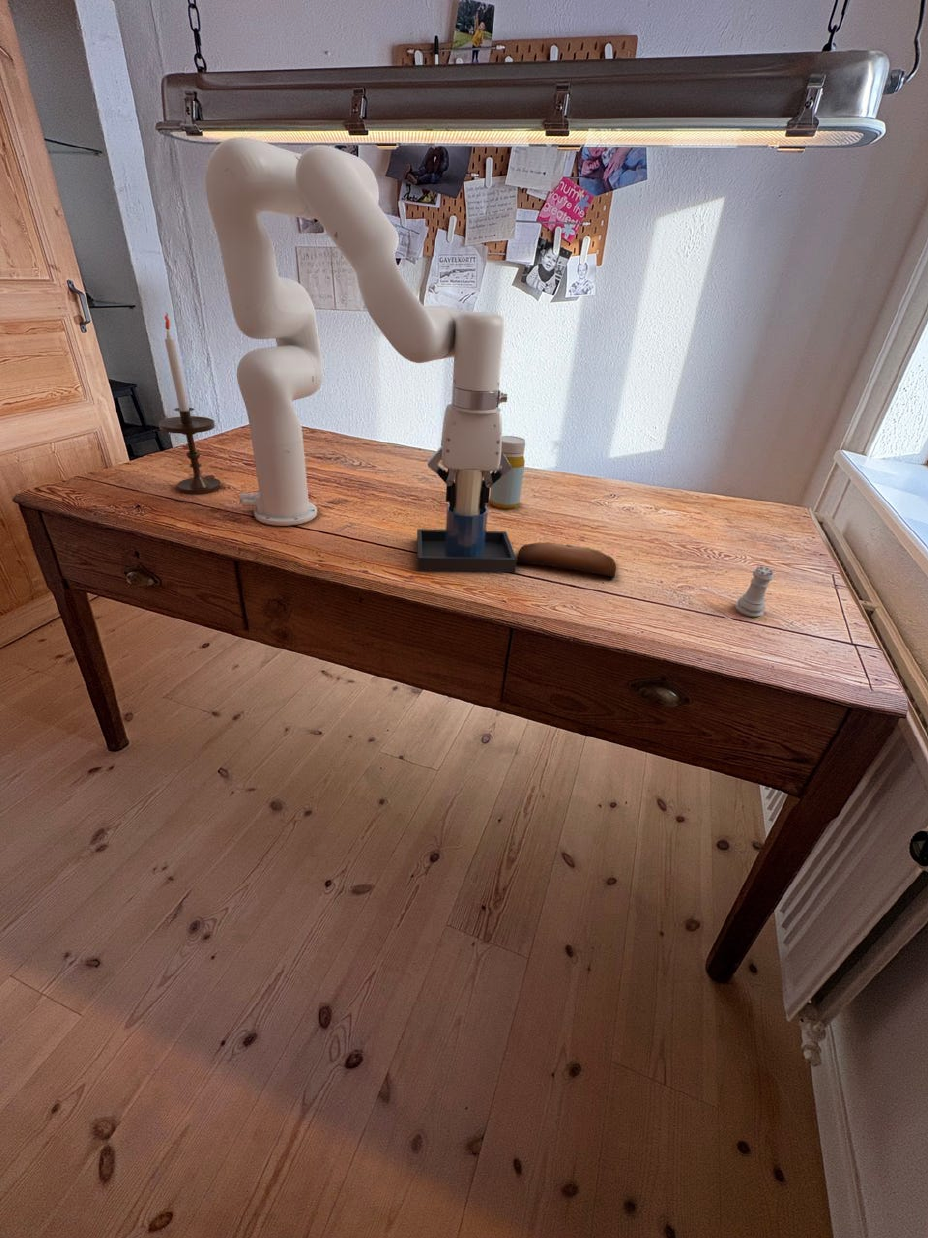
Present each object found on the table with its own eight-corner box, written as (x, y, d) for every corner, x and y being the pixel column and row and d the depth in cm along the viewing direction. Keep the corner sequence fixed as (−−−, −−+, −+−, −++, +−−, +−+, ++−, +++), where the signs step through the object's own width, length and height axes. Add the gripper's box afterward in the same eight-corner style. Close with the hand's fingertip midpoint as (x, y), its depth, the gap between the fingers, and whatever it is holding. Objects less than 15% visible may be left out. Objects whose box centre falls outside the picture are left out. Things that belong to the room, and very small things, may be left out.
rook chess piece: (738, 616, 91) (755, 573, 87) (731, 603, 95) (747, 561, 90) (766, 620, 91) (784, 577, 86) (758, 606, 94) (775, 565, 90)
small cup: (453, 527, 98) (457, 469, 92) (451, 517, 102) (454, 461, 96) (479, 528, 98) (485, 471, 93) (477, 518, 102) (481, 462, 97)
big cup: (445, 561, 100) (448, 515, 95) (443, 544, 106) (445, 500, 101) (485, 562, 100) (490, 516, 96) (481, 545, 107) (485, 501, 102)
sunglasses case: (614, 559, 105) (620, 539, 99) (610, 590, 102) (616, 571, 96) (522, 545, 108) (523, 524, 102) (515, 575, 105) (516, 555, 99)
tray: (418, 571, 97) (418, 557, 96) (417, 541, 108) (417, 529, 106) (515, 572, 99) (516, 559, 98) (504, 543, 110) (506, 531, 108)
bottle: (517, 511, 125) (525, 445, 117) (487, 507, 126) (493, 441, 118) (520, 501, 131) (528, 437, 123) (492, 497, 132) (498, 433, 124)
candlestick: (195, 476, 130) (160, 309, 112) (235, 483, 128) (207, 313, 109) (162, 490, 121) (119, 311, 103) (204, 498, 119) (168, 316, 101)
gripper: (522, 397, 92) (509, 500, 102) (421, 391, 91) (419, 496, 100) (530, 407, 86) (516, 515, 96) (423, 401, 84) (419, 512, 94)
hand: (466, 505), depth 98 cm, fingers closed on small cup, 4 cm apart
